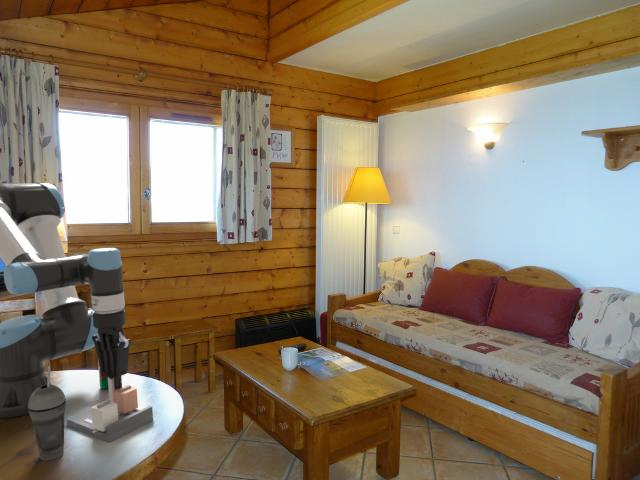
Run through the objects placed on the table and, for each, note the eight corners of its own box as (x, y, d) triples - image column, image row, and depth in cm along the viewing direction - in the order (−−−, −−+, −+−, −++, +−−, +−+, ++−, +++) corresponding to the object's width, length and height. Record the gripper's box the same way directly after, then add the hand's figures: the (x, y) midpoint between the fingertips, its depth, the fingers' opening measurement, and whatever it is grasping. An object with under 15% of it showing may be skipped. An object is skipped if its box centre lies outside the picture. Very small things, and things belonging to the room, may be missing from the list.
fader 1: (92, 427, 113) (90, 404, 112) (108, 420, 116) (106, 397, 116) (103, 431, 111) (101, 408, 110) (118, 424, 114) (116, 401, 113)
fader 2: (114, 410, 121) (112, 388, 121) (128, 404, 125) (126, 383, 124) (124, 414, 119) (122, 392, 119) (138, 407, 123) (136, 386, 122)
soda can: (116, 389, 139) (113, 349, 138) (97, 391, 139) (94, 350, 137) (120, 382, 144) (118, 343, 143) (102, 383, 143) (99, 344, 142)
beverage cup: (45, 446, 109) (37, 360, 107) (77, 445, 109) (69, 359, 107) (24, 464, 102) (15, 372, 100) (58, 464, 102) (50, 372, 99)
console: (63, 426, 118) (62, 412, 118) (113, 404, 130) (112, 391, 129) (106, 444, 109) (105, 429, 109) (155, 418, 121) (154, 405, 120)
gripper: (79, 310, 122) (87, 401, 124) (111, 316, 115) (119, 412, 117) (106, 304, 128) (113, 390, 130) (138, 309, 121) (145, 400, 123)
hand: (116, 400), depth 124 cm, fingers closed
